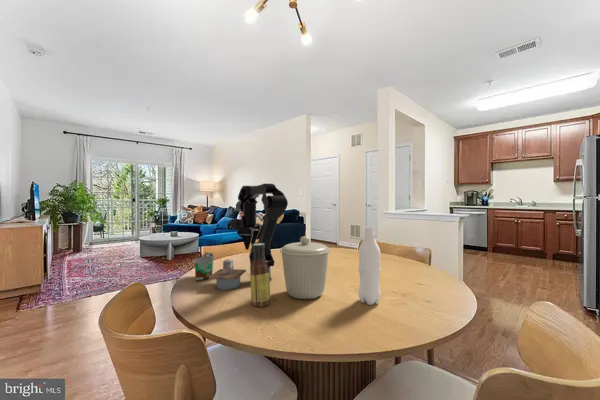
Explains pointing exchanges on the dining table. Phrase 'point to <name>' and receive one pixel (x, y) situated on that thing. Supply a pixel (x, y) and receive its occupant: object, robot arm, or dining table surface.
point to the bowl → (227, 283)
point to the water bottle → (369, 268)
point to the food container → (204, 267)
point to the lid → (227, 271)
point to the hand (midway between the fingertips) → (250, 247)
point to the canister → (305, 268)
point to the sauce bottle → (259, 277)
